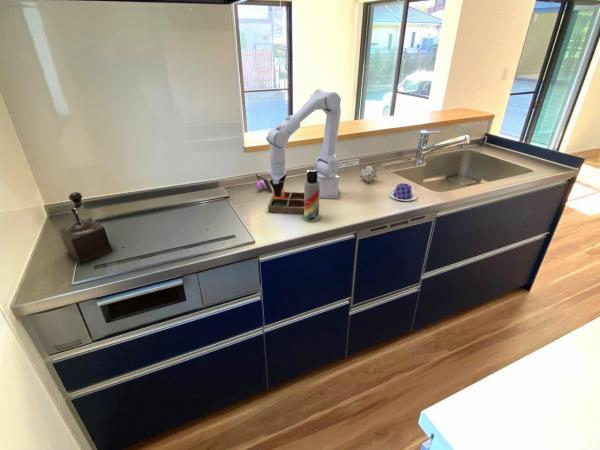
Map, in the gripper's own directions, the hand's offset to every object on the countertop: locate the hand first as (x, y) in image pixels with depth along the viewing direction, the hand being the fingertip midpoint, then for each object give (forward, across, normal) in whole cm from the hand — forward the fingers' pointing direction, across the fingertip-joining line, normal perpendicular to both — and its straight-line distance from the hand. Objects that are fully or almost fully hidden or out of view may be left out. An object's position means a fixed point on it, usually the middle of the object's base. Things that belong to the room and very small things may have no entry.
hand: (279, 193), depth 139 cm
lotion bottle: (+7, +7, +14) cm, 17 cm away
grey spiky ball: (+7, -32, +39) cm, 51 cm away
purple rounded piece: (+7, -18, -10) cm, 22 cm away
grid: (+7, -4, +4) cm, 8 cm away
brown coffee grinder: (+7, +36, -60) cm, 70 cm away
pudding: (+7, -16, +53) cm, 56 cm away
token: (+1, 0, 0) cm, 1 cm away
